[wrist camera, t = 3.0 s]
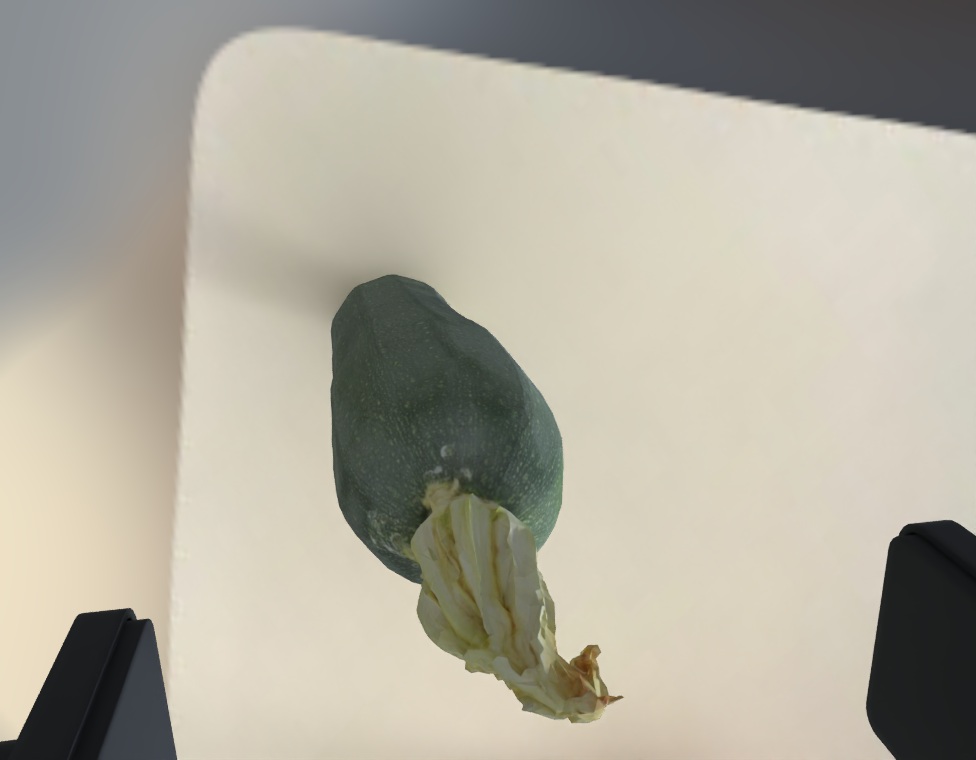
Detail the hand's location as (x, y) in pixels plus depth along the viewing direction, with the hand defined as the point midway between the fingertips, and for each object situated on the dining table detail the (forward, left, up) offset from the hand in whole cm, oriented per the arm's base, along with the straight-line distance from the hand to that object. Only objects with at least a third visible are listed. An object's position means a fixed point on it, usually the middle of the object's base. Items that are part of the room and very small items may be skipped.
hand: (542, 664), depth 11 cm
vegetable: (0, 0, -20) cm, 20 cm away
